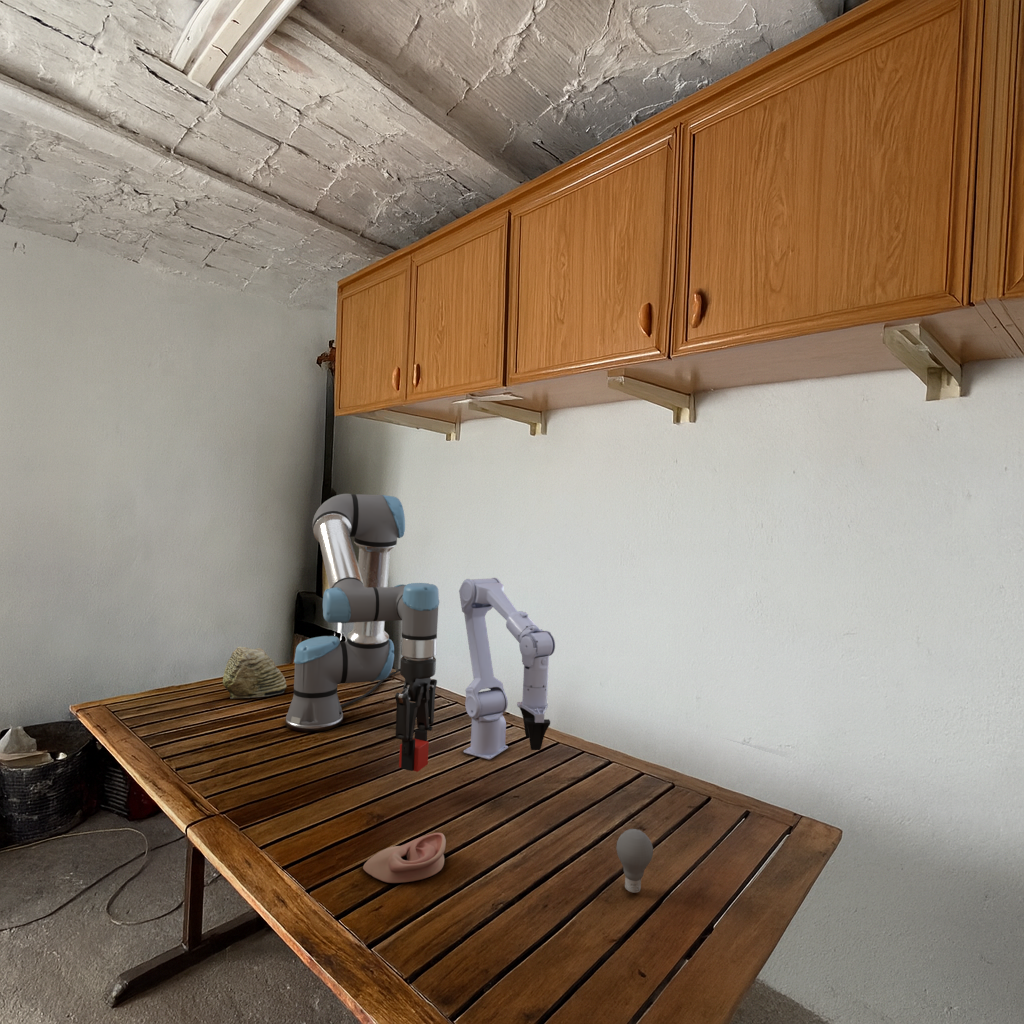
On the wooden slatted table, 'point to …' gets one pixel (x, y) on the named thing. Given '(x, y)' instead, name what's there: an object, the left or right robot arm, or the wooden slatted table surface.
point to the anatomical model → (409, 860)
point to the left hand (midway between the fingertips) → (413, 764)
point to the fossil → (252, 674)
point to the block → (418, 754)
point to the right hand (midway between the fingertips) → (532, 742)
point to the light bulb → (634, 857)
